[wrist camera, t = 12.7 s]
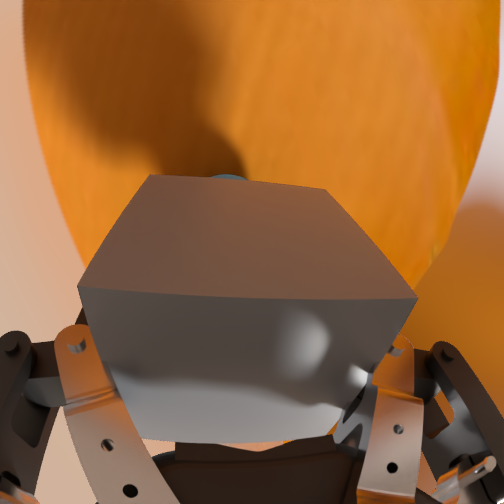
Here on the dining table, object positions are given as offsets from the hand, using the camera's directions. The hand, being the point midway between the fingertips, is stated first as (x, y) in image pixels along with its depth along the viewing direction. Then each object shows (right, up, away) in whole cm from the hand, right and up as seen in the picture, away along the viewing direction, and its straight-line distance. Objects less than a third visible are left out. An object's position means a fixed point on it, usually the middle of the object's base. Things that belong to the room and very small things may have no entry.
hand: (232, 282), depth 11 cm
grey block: (0, +1, +2) cm, 2 cm away
